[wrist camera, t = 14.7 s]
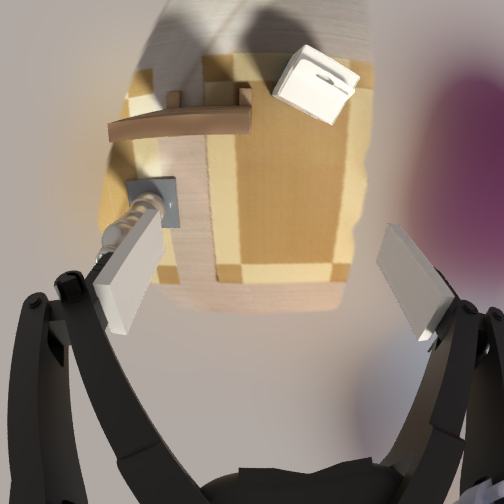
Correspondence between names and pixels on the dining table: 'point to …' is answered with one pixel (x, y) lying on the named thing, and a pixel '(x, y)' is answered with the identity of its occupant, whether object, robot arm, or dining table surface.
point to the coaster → (164, 190)
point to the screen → (186, 120)
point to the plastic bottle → (129, 221)
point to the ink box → (315, 84)
